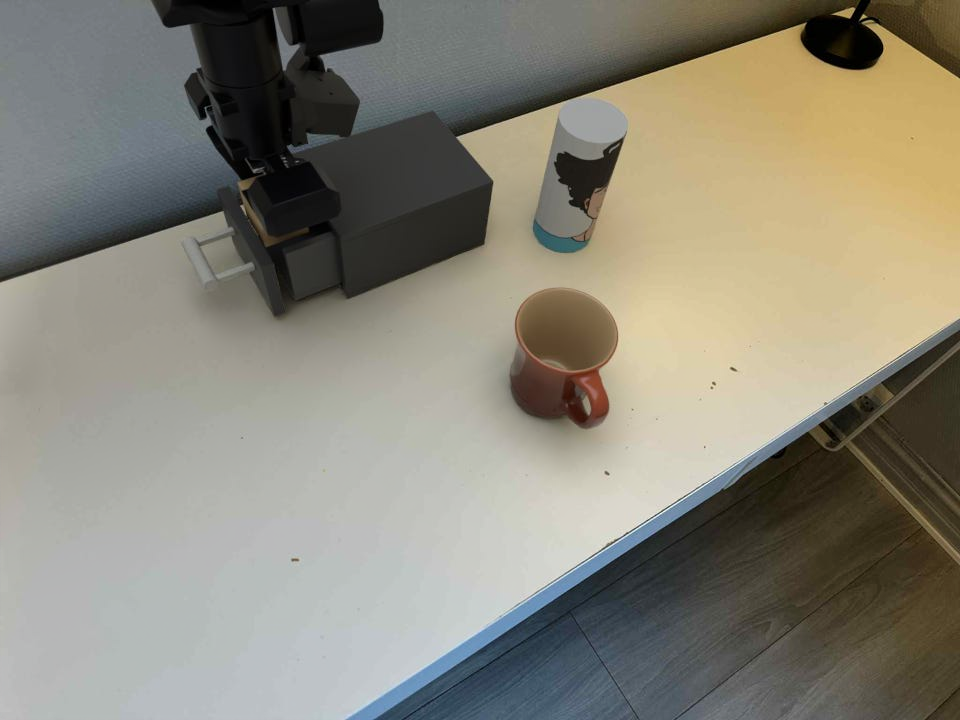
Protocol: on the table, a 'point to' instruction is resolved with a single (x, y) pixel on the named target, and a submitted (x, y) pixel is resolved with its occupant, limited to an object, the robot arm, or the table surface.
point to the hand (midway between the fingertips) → (275, 217)
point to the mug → (563, 355)
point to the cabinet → (402, 199)
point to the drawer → (270, 257)
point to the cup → (578, 172)
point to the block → (256, 223)
